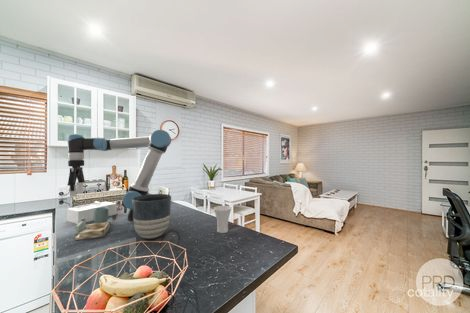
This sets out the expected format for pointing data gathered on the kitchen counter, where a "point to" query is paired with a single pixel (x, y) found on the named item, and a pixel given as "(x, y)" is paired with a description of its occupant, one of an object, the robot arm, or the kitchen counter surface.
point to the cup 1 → (101, 215)
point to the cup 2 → (222, 218)
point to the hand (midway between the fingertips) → (77, 194)
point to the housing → (94, 231)
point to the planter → (151, 214)
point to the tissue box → (89, 211)
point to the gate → (80, 226)
